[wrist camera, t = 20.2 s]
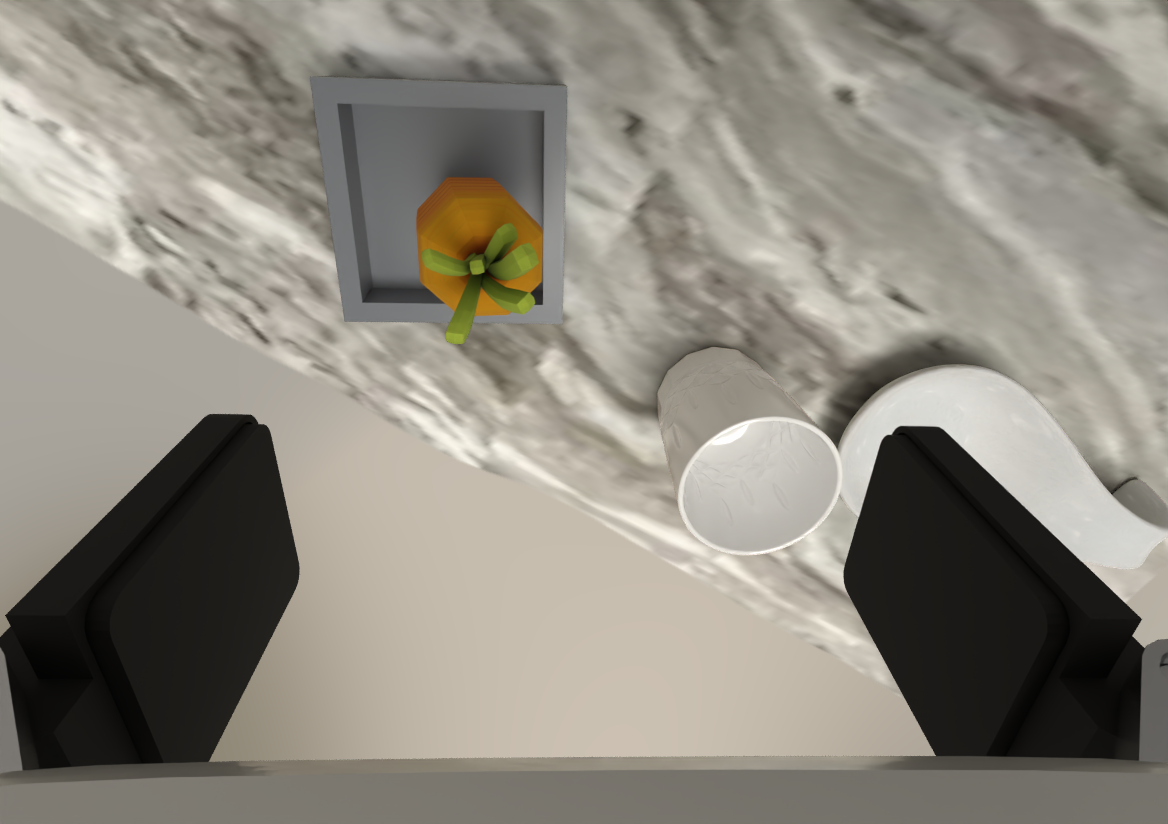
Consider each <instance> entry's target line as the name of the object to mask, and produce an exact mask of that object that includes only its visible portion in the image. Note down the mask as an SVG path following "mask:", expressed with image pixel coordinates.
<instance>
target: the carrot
mask: <svg viewBox="0 0 1168 824" xmlns="http://www.w3.org/2000/svg"><path fill="white" fill-rule="evenodd" d="M416 231H417V246H418V260H419V275H420V281H421V283H422V284H423V285H424V286H425V287H426V288H428V289H429V290H430V291H431V292H432V293H433V294H435V295H436V296H437V297H438V298H439V299H440V300H441V301H443V302H444V303H445V304H446V305H447V306H448V307H450V308H451V309H452V310H453V311H454V315H453V317H452V319H451V321H450V323H449V326H448V329H447V332H446V340H447V342H450V343H453V344H463V343H464V342H465V340H466V338H467V337H468V334H469V332H470V329H471V326H472V323H473V320H474V316H492V315H509V314H510V313H511V312H513V313H517V314H522V315H524V314H525V313H526V312H528V311H529V310H531V308H532V307H533V305H534V304H535V300H534V297H533V296H532V295H531V294H530V293H531V292H532V291H533V290H534V289H535V288H536V287H537V286H538V285H539V284H540V283H541V281H542V259H543V229H542V227H541V226H540V225H539V224H538V223H537V222H536V221H535V220H534V219H533V218H532V217H531V216H530V215H529V214H528V213H527V212H526V211H525V210H524V208H523V207H522V206H521V205H520V204H519V203H518V202H517V201H516V200H515V199H514V198H513V197H512V196H511V195H510V194H509V193H508V192H507V191H506V190H505V189H504V188H503V187H502V186H501V185H500V184H499V183H498V182H497V181H495V180H494V179H493V178H478V177H447V178H446V179H445V180H444V181H443V182H442V183H441V185H440V186H439V187H438V188H437V189H436V190H435V191H434V192H433V193H432V194H431V195H430V196H429V197H428V198H427V199H426V201H425V202H424V203H423V204H422V205H421V206H420V207H419V208H418V209H417V216H416Z"/></svg>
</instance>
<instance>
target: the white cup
mask: <svg viewBox="0 0 1168 824" xmlns="http://www.w3.org/2000/svg"><path fill="white" fill-rule="evenodd" d="M657 402H658V418H659V422H660V427H661V435H662V440H663V444H664V449H665V454H666V459H667V463H668V467H669V470H670V474H671V478H672V482H673V486H674V490H675V494H676V498H677V502H678V507H679V511H680V514H681V517H682V519H683V521H684V523H685V525H686V527H687V528H688V529H689V531H690V532H691V533H692V534H693V535H694V536H695V537H696V538H697V539H698V540H700V541H701V542H702V543H704V544H705V545H707V546H709V547H711V548H713V549H716V550H718V551H721V552H725V553H729V554H736V555H758V554H765V553H770V552H774V551H777V550H780V549H783V548H785V547H788V546H790V545H792V544H794V543H796V542H798V541H800V540H801V539H803V538H804V537H806V536H807V535H809V534H810V533H811V532H812V531H814V530H815V529H816V528H817V527H818V526H819V525H820V524H821V523H822V522H823V521H824V520H825V519H826V517H827V516H828V515H829V513H830V512H831V510H832V509H833V507H834V505H835V503H836V501H837V499H838V497H839V494H840V491H841V487H842V481H843V467H842V462H841V458H840V455H839V453H838V450H837V448H836V447H835V445H834V444H833V442H832V441H831V440H830V438H829V437H828V436H827V435H826V434H825V433H824V432H823V431H822V430H821V429H820V428H819V427H818V426H817V424H816V423H815V422H814V421H813V420H812V419H811V418H810V417H809V416H808V415H807V414H806V412H805V411H804V410H803V409H802V408H801V407H800V406H799V405H798V404H797V403H796V401H795V400H794V399H793V398H792V397H791V396H790V395H789V394H788V393H787V392H786V391H785V390H784V389H783V388H782V387H781V386H780V385H779V384H778V383H777V382H776V381H775V380H774V379H773V378H772V377H771V376H770V375H769V374H767V373H766V372H765V371H764V370H763V369H762V368H761V367H760V366H759V365H758V363H756V362H755V361H753V360H752V359H751V358H749V357H748V356H746V355H745V354H743V353H742V352H740V351H739V350H736V349H728V348H719V347H710V348H706V349H703V350H700V351H697V352H694V353H690V354H687V355H686V356H685V357H684V358H683V359H681V360H680V361H679V362H678V363H677V364H675V365H674V366H673V367H672V368H671V369H669V370H668V371H667V373H666V376H665V378H664V380H663V382H662V384H661V386H660V388H659V390H658V392H657Z"/></svg>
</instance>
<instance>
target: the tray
mask: <svg viewBox="0 0 1168 824" xmlns="http://www.w3.org/2000/svg"><path fill="white" fill-rule="evenodd" d="M310 82H311V89H312V96H313V103H314V110H315V117H316V124H317V131H318V138H319V145H320V152H321V159H322V166H323V173H324V180H325V187H326V194H327V202H328V209H329V216H330V223H331V230H332V237H333V244H334V251H335V258H336V265H337V272H338V279H339V286H340V293H341V300H342V307H343V314H344V321H345V322H432V323H450V321H451V319H452V317H453V315H454V311H453V310H452V309H451V308H450V307H448V306H447V305H446V304H445V303H444V302H443V301H441V300H440V299H439V298H438V297H437V296H436V295H435V294H433V293H432V292H431V291H430V290H429V289H428V288H426V287H425V286H424V285H423V284H422V283H421V281H420V275H419V260H418V246H417V231H416V216H417V209H418V208H419V207H420V206H421V205H422V204H423V203H424V202H425V201H426V199H427V198H428V197H429V196H430V195H431V194H432V193H433V192H434V191H435V190H436V189H437V188H438V187H439V186H440V185H441V183H442V182H443V181H444V180H445V179H446V178H447V177H478V178H493V179H494V180H495V181H497V182H498V183H499V184H500V185H501V186H502V187H503V188H504V189H505V190H506V191H507V192H508V193H509V194H510V195H511V196H512V197H513V198H514V199H515V200H516V201H517V202H518V203H519V204H520V205H521V206H522V207H523V208H524V210H525V211H526V212H527V213H528V214H529V215H530V216H531V217H532V218H533V219H534V220H535V221H536V222H537V223H538V224H539V225H540V226H541V227H542V229H543V259H542V281H541V283H540V284H539V285H538V286H537V287H536V288H535V289H534V290H533V291H532V292H531V293H530V294H531V295H532V296H533V297H534V300H535V304H534V305H533V307H532V308H531V310H529V311H528V312H526V313H525V314H524V315H522V314H517V313H513V312H511V313H510V314H509V315H492V316H474V320H473V323H520V324H562V316H563V267H564V218H565V169H566V120H567V86H566V85H552V84H525V83H499V82H472V81H446V80H419V79H393V78H366V77H339V76H318V77H310Z"/></svg>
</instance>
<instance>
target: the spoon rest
mask: <svg viewBox="0 0 1168 824" xmlns="http://www.w3.org/2000/svg"><path fill="white" fill-rule="evenodd" d="M899 426H936V427H940V428H942V429H943V430H945V431H946V432H947V433H948V434H949V435H950V436H951V437H952V438H953V439H954V440H955V441H956V442H957V443H958V444H959V445H960V446H961V447H962V448H963V449H964V450H965V451H967V452H968V453H969V454H970V455H971V456H972V457H973V458H974V459H975V460H976V461H977V462H978V463H979V464H980V465H981V466H982V467H983V468H984V469H985V470H986V471H987V472H988V473H990V474H991V475H992V476H993V477H994V478H995V479H996V480H997V481H998V482H999V483H1000V484H1001V485H1002V486H1003V487H1004V488H1005V489H1006V490H1007V491H1008V492H1009V493H1010V494H1012V495H1013V496H1014V497H1015V498H1016V499H1017V500H1018V501H1019V502H1020V503H1021V504H1022V505H1023V506H1024V507H1025V508H1026V509H1027V510H1028V511H1029V512H1030V513H1031V514H1032V515H1033V516H1035V517H1036V518H1037V519H1038V520H1039V521H1040V522H1041V523H1042V524H1043V525H1044V526H1045V527H1046V528H1047V529H1048V530H1049V531H1050V532H1051V533H1052V534H1053V535H1054V536H1055V537H1056V538H1058V539H1059V540H1060V541H1061V542H1062V543H1063V544H1064V545H1065V546H1066V547H1067V548H1068V549H1069V550H1070V551H1071V552H1072V553H1073V554H1074V555H1075V556H1076V557H1077V558H1078V559H1079V560H1081V561H1082V562H1086V563H1091V564H1096V565H1101V566H1105V567H1111V568H1116V569H1135V568H1138V567H1140V566H1141V565H1142V564H1143V562H1144V561H1145V559H1146V557H1147V556H1148V554H1149V553H1150V552H1151V550H1152V549H1153V548H1154V547H1155V546H1156V545H1157V544H1159V543H1160V542H1161V541H1163V540H1165V539H1166V538H1168V507H1167V505H1166V504H1165V503H1164V501H1163V500H1162V499H1161V498H1160V497H1159V496H1158V495H1157V494H1156V493H1155V492H1154V491H1153V490H1152V489H1151V488H1150V487H1149V486H1148V485H1147V484H1146V483H1145V482H1143V481H1141V480H1131V481H1129V482H1127V483H1126V484H1124V485H1123V486H1121V487H1120V488H1119V489H1118V490H1117V491H1116V492H1114V493H1113V494H1111V493H1110V492H1109V491H1108V490H1107V489H1106V488H1105V486H1104V485H1103V484H1102V483H1101V481H1100V480H1099V479H1098V477H1097V476H1096V475H1095V473H1094V472H1093V471H1092V469H1091V468H1090V466H1089V465H1088V463H1087V462H1086V461H1085V459H1084V458H1083V456H1082V455H1081V454H1080V452H1079V451H1078V449H1077V448H1076V446H1075V445H1074V443H1073V442H1072V441H1071V439H1070V438H1069V437H1068V435H1067V434H1066V433H1065V431H1064V430H1063V428H1062V427H1061V426H1060V425H1059V423H1058V422H1057V421H1056V419H1055V418H1054V417H1053V416H1052V415H1051V413H1050V412H1049V411H1048V410H1047V409H1046V408H1045V407H1044V406H1043V404H1042V403H1041V402H1040V401H1039V400H1038V399H1037V398H1036V397H1035V396H1034V395H1033V394H1032V393H1030V392H1029V391H1028V390H1027V389H1026V388H1025V387H1023V386H1022V385H1021V384H1019V383H1018V382H1016V381H1014V380H1013V379H1011V378H1010V377H1008V376H1006V375H1004V374H1002V373H1000V372H997V371H995V370H992V369H989V368H986V367H982V366H977V365H967V364H950V365H939V366H934V367H929V368H924V369H921V370H917V371H914V372H911V373H909V374H906V375H904V376H902V377H900V378H897V379H895V380H894V381H892V382H890V383H888V384H887V385H885V386H884V387H882V388H881V389H880V390H878V391H877V392H876V393H875V394H873V395H872V396H871V397H870V398H869V399H868V400H867V401H866V402H865V403H864V405H863V406H862V407H861V408H860V409H859V410H858V411H857V413H856V414H855V415H854V417H853V418H852V420H851V421H850V422H849V424H848V426H847V427H846V429H845V431H844V433H843V435H842V437H841V440H840V442H839V445H838V448H837V450H838V453H839V455H840V458H841V462H842V467H843V481H842V487H841V491H840V494H839V495H840V497H841V499H842V500H843V502H844V503H845V505H846V506H847V507H848V509H849V510H850V511H851V512H852V513H853V514H854V515H855V516H856V517H858V518H859V515H860V512H861V508H862V505H863V501H864V498H865V495H866V491H867V488H868V484H869V481H870V477H871V474H872V471H873V467H874V464H875V460H876V457H877V453H878V450H879V447H880V444H881V441H882V439H883V438H884V437H885V436H886V435H892V433H893V432H894V430H895V429H896V428H897V427H899Z"/></svg>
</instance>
